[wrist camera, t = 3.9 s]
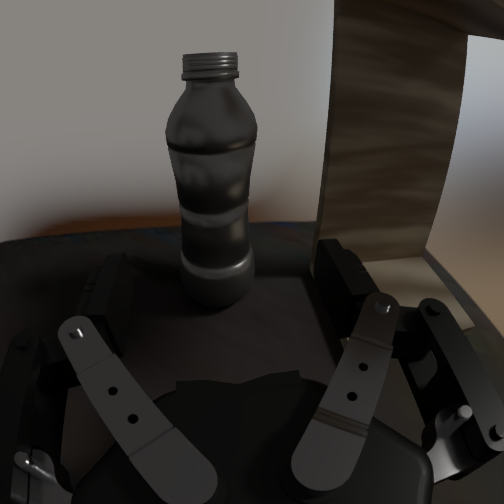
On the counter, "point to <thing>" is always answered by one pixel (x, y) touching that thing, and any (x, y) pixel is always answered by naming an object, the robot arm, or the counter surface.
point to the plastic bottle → (213, 178)
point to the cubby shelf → (396, 134)
